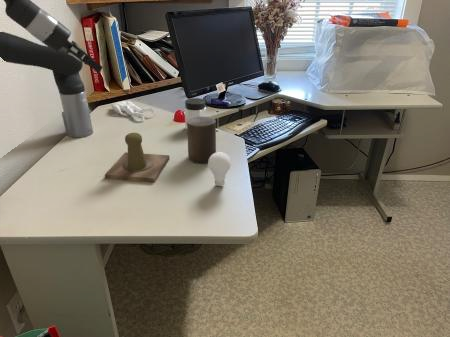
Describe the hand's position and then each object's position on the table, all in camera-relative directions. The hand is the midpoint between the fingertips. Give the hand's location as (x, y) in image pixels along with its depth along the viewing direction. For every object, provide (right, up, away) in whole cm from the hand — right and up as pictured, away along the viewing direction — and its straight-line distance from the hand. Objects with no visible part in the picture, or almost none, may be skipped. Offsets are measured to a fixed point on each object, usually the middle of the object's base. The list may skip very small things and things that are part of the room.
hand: (97, 67), depth 107 cm
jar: (+28, -15, +37) cm, 49 cm away
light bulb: (+38, -37, -3) cm, 53 cm away
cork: (+11, -31, +4) cm, 33 cm away
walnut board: (+12, -32, +6) cm, 34 cm away
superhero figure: (-4, -7, +53) cm, 54 cm away
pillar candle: (+32, -28, +13) cm, 45 cm away
